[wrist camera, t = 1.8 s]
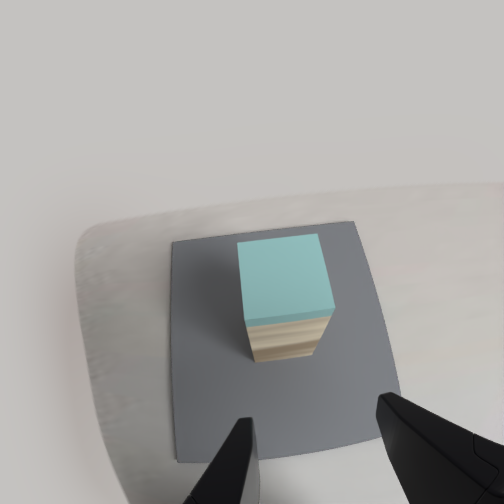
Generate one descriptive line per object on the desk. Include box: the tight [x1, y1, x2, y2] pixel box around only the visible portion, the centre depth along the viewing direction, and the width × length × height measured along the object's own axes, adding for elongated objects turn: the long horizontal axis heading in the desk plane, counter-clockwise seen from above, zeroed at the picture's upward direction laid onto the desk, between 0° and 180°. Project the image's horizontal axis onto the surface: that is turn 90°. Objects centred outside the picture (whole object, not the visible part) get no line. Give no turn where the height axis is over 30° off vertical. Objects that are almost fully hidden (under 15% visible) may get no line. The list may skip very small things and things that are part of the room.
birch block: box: [237, 234, 335, 363], centre depth 18 cm, size 4×4×9 cm
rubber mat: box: [171, 221, 401, 463], centre depth 22 cm, size 18×16×1 cm
